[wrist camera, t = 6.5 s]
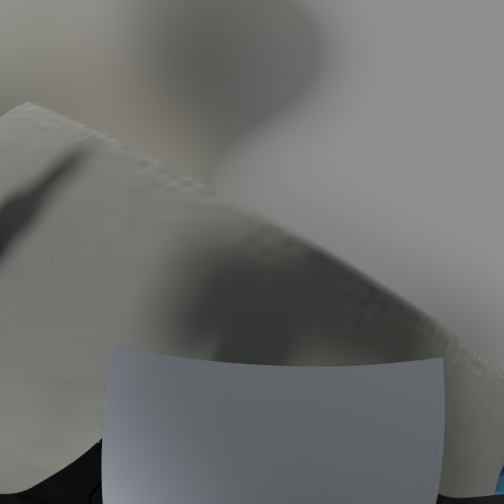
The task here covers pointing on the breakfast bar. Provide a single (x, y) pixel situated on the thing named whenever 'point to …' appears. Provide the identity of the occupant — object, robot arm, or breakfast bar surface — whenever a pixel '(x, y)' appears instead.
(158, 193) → the breakfast bar surface
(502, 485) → the cup
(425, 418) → the pull handle
